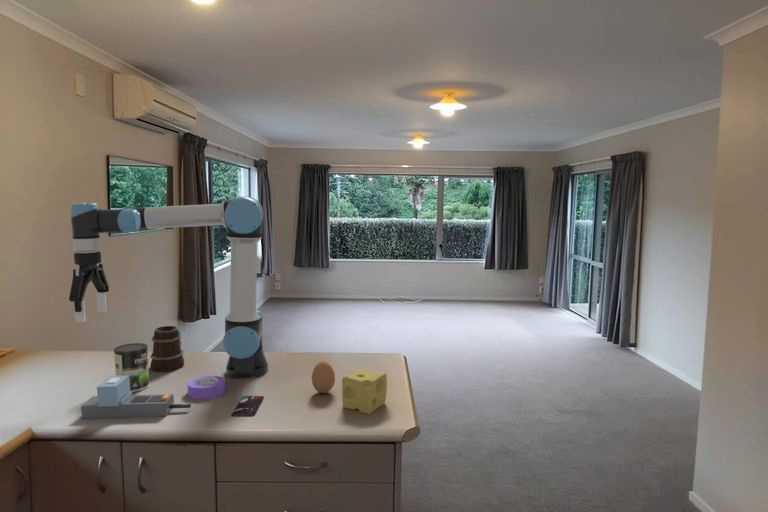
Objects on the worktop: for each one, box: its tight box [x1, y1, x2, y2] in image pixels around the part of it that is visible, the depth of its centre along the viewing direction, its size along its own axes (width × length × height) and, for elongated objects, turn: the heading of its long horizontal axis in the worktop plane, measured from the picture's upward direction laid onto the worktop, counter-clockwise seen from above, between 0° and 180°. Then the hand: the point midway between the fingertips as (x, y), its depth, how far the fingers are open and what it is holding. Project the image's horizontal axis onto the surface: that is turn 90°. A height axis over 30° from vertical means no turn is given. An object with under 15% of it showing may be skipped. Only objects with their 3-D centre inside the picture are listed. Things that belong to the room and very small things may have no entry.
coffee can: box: [113, 342, 150, 393], centre depth 174 cm, size 10×10×14 cm
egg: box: [311, 360, 336, 394], centre depth 170 cm, size 8×8×11 cm
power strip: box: [80, 392, 192, 420], centre depth 155 cm, size 30×7×5 cm, turn 95°
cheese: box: [341, 368, 388, 415], centre depth 160 cm, size 10×11×10 cm
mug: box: [149, 325, 185, 372], centre depth 197 cm, size 16×12×15 cm
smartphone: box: [230, 395, 265, 418], centre depth 160 cm, size 7×1×15 cm
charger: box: [96, 375, 130, 407], centre depth 153 cm, size 6×9×6 cm, turn 5°
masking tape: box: [187, 375, 226, 400], centre depth 171 cm, size 12×12×4 cm
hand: (91, 316), depth 166 cm, fingers open, 13 cm apart
